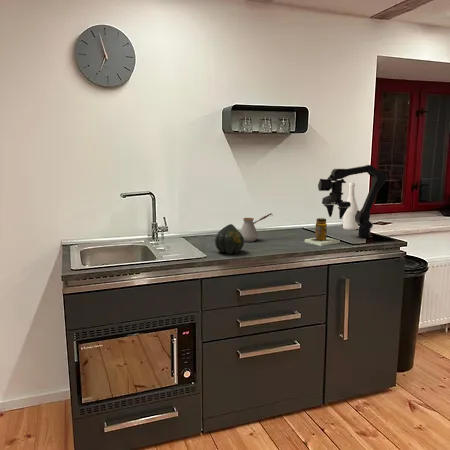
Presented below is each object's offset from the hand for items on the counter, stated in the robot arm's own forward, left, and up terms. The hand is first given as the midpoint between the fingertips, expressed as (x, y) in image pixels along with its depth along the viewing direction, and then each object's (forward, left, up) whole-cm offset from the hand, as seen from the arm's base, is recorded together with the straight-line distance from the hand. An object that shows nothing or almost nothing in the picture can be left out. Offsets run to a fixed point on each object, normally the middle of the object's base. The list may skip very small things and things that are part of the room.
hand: (335, 217), depth 254 cm
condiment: (+16, +4, -11) cm, 19 cm away
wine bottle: (-32, -17, -12) cm, 38 cm away
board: (+14, +4, -12) cm, 19 cm away
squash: (+69, -6, -12) cm, 70 cm away
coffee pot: (+39, -24, -12) cm, 47 cm away
